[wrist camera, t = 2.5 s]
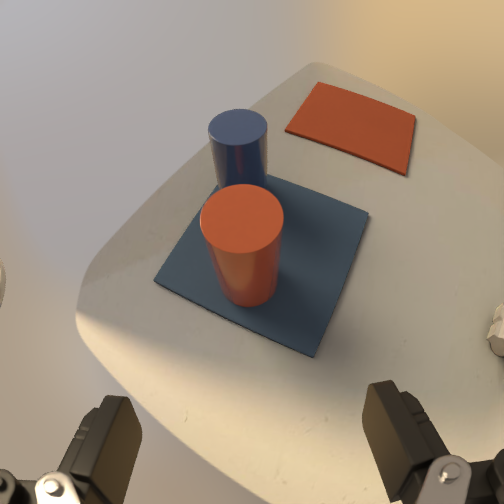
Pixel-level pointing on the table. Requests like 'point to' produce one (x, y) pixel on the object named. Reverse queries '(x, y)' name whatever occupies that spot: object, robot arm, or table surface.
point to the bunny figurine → (497, 331)
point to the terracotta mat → (356, 126)
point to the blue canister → (239, 148)
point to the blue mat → (280, 268)
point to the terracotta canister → (244, 242)
